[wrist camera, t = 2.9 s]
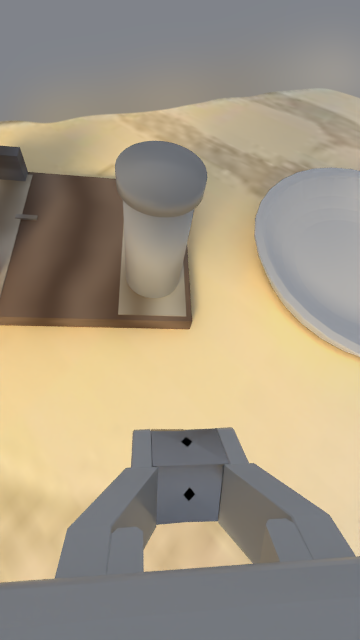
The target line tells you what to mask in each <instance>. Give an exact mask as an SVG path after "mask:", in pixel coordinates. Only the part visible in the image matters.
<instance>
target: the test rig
mask: <svg viewBox="0 0 360 640" xmlns="http://www.w3.org/2000/svg"><path fill="white" fill-rule="evenodd" d="M191 323H192V314H191V299H190V283H189V268H188V252H187V246H186V251H185V256H184V260H183V265H182V270H181V275H180V280H179V283H178V286H177V288H176V289H175V290H174V291H173V292H172V293H170V294H169V295H167V296H164V297H161V298H147V297H144V296H141V295H139V294H137V293H136V292H134V291H133V290H132V289H131V288H130V286H129V285H128V283H127V280H126V268H125V241H124V214H123V200H122V198H121V197H120V195H119V194H118V191H117V187H116V179H109V178H96V177H83V176H71V175H58V174H45V173H32V172H28V171H27V168H26V165H25V162H24V159H23V156H22V153H21V150H20V147H9V146H0V325H21V326H67V327H114V328H160V329H190V326H191Z"/></svg>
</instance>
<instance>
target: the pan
mask: <svg viewBox="0 0 360 640" xmlns="http://www.w3.org/2000/svg"><path fill="white" fill-rule="evenodd" d="M254 236H255V241H256V246H257V251H258V256H259V258H260V260H261V263H262V265H263V267H264V270H265V273H266V275H267V277H268V279H269V282H270V284H271V286H272V288H273V290H274V291H275V293H276V294H277V296H278V297H279V298H280V300H281V301H282V303H283V304H284V306H285V307H286V308H287V309H288V310H289V311H290V312H291V313H292V314H293V315H294V316H295V317H296V318H297V319H298V321H299V322H300V323H301V324H303V325H304V326H305V327H307V328H308V329H309V330H310V331H312V332H313V333H314V334H316V335H317V336H318V337H320V338H321V339H323V340H325V341H326V342H328V343H330V344H332V345H334V346H335V347H337V348H339V349H341V350H343V351H345V352H348V353H351V354H353V355H356V356H359V357H360V171H357V170H352V169H342V168H318V169H311V170H306V171H302V172H298V173H295V174H293V175H291V176H289V177H287V178H284V179H282V180H281V181H280V182H279V183H277V184H276V185H275V186H274V187H272V188H271V189H270V190H269V192H268V193H267V194H266V196H265V197H264V199H263V200H262V201H261V203H260V206H259V209H258V212H257V215H256V218H255V235H254Z"/></svg>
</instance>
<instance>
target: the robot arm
mask: <svg viewBox="0 0 360 640" xmlns="http://www.w3.org/2000/svg"><path fill="white" fill-rule="evenodd" d="M205 521H218V523H219V524H220V525H221V526H222V528H223V529H224V530H225V531H226V532H227V533H228V535H229V536H230V537H231V538H232V539H233V541H234V542H235V543H236V544H237V545H238V546H239V548H240V549H241V550H242V551H243V552H244V553H245V555H246V556H247V557H248V558H249V559H250V560H251V562H252V563H253V564H245V565H232V566H218V567H205V568H191V569H178V570H165V571H151V572H144V571H143V550H144V548H145V546H146V544H147V542H148V541H149V539H150V537H151V535H152V533H153V531H154V530H155V528H156V525H158V524H170V523H181V522H205ZM0 640H360V556H357V557H356V556H355V554H354V553H353V551H352V549H351V548H350V546H349V545H348V543H347V542H346V540H345V539H344V537H343V535H342V534H341V532H340V531H339V529H338V528H337V526H336V524H335V523H334V521H333V520H332V518H331V517H330V515H329V514H327V513H326V512H325V511H323V510H322V509H320V508H319V507H317V506H316V505H314V504H313V503H311V502H310V501H308V500H307V499H305V498H304V497H303V496H301V495H300V494H298V493H297V492H295V491H294V490H292V489H291V488H289V487H288V486H286V485H285V484H284V483H282V482H281V481H279V480H278V479H276V478H275V477H273V476H272V475H270V474H269V473H267V472H266V471H264V470H263V469H262V468H260V467H259V466H257V465H256V464H254V463H249V462H248V460H247V458H246V455H245V453H244V451H243V449H242V446H241V444H240V442H239V440H238V438H237V435H236V433H235V431H234V429H233V428H232V427H228V428H215V429H191V430H184V429H151V431H150V429H144V430H134V431H133V440H132V459H131V468H125V469H124V470H123V472H122V473H121V474H120V475H119V476H118V477H117V478H116V479H115V480H114V481H113V482H112V483H111V484H110V485H109V486H108V487H107V488H106V489H105V490H104V491H103V492H102V493H101V494H100V496H99V497H98V498H97V499H96V500H95V501H94V502H93V503H92V504H91V505H90V506H89V507H88V508H87V509H86V510H85V511H84V512H83V513H82V514H81V515H80V516H79V517H78V518H77V520H76V521H75V522H74V523H73V524H72V525H71V526H70V527H69V528H68V529H67V533H66V537H65V540H64V544H63V548H62V552H61V556H60V560H59V564H58V568H57V572H56V576H55V579H42V580H29V581H15V582H2V583H0Z"/></svg>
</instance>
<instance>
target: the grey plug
mask: <svg viewBox="0 0 360 640" xmlns="http://www.w3.org/2000/svg"><path fill="white" fill-rule="evenodd" d="M115 174H116V187H117V191H118V194H119V195H120V197H121V198H122V200H123V214H124V241H125V268H126V280H127V283H128V285H129V286H130V288H131V289H132V290H133V291H134V292H136V293H137V294H139V295H141V296H144V297H147V298H161V297H164V296H167V295H169V294H170V293H172V292H173V291H174V290H175V289H176V288H177V286H178V283H179V280H180V275H181V270H182V265H183V260H184V256H185V251H186V246H187V241H188V236H189V232H190V227H191V222H192V217H193V212H194V208H196V207H197V206H198V205H199V203H200V202H201V200H202V198H203V194H204V190H205V185H206V181H207V171H206V168H205V165H204V164H203V162H202V161H201V159H200V158H199V157H198V156H197V155H196V154H194V153H193V152H192V151H190V150H188V149H186V148H184V147H182V146H180V145H177V144H174V143H170V142H164V141H146V142H141V143H137V144H134V145H132V146H130V147H128V148H126V149H125V150H124V151H123V152H122V153H121V154H120V155H119V156H118V158H117V160H116V164H115Z"/></svg>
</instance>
